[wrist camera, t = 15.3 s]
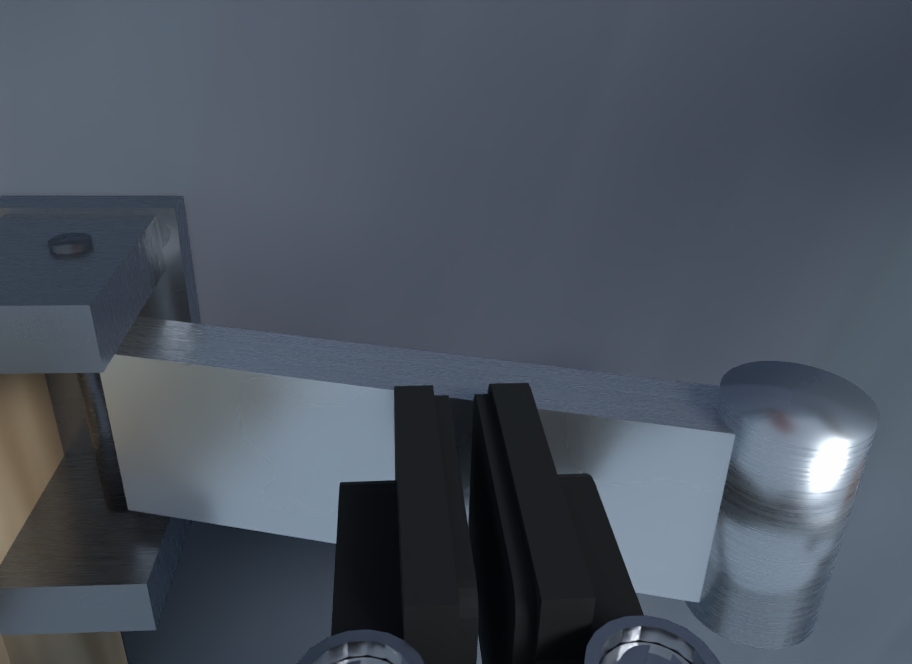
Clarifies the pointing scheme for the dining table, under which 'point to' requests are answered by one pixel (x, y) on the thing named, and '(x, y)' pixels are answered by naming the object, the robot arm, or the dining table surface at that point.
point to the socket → (13, 498)
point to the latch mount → (87, 403)
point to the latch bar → (568, 435)
